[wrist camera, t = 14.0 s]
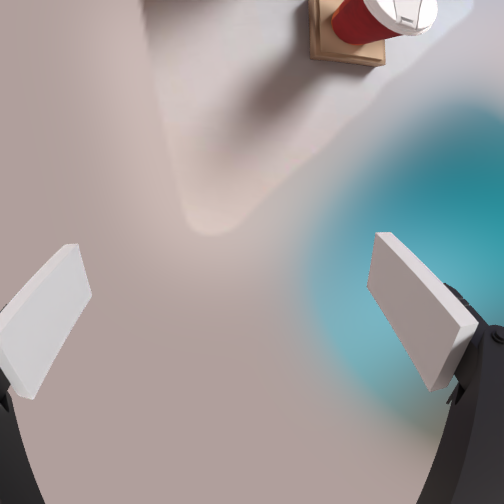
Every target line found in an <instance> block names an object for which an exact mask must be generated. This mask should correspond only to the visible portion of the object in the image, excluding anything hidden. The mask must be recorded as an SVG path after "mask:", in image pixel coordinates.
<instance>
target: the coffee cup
mask: <svg viewBox="0 0 504 504" xmlns="http://www.w3.org/2000/svg"><path fill="white" fill-rule="evenodd" d="M436 16H437V2H436V0H344V1H343V2H342V3H341V4H340V6H339V7H338V8H337V9H336V11H335V12H334V14H333V16H332V19H331V25H332V28H333V31H334V32H335V34H336V35H337V36H338V37H339V38H340V39H341V40H342V41H344V42H346V43H348V44H351V45H363V44H368V43H372V42H376V41H380V40H384V39H388V38H392V37H396V36H401V35H408V36H416V35H420V34H423V33H425V32H426V31H427V30H429V29H430V27H431V26H432V24H433V22H434V21H435V19H436Z"/></svg>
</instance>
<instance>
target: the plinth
mask: <svg viewBox="0 0 504 504" xmlns="http://www.w3.org/2000/svg"><path fill="white" fill-rule="evenodd" d="M343 1H344V0H308V10H309V34H310V59H313V60H325V61H335V62H344V63H352V64H359V65H366V66H372V67H378V66H383V65H385V39H384V40H380V41H376V42H372V43H368V44H363V45H351V44H348V43H346V42H344V41H342V40H341V39H340V38H339V37H338V36H337V35H336V34H335V32H334V31H333V28H332V25H331V19H332V16H333V14H334V12H335V11H336V9H337V8H338V7H339V6H340V4H341V3H342V2H343Z"/></svg>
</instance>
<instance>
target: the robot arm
mask: <svg viewBox="0 0 504 504" xmlns="http://www.w3.org/2000/svg"><path fill="white" fill-rule="evenodd" d="M367 288H368V290H369V291H370V293H371V294H372V296H373V297H374V299H375V300H376V302H377V304H378V305H379V307H380V308H381V310H382V312H383V313H384V315H385V316H386V318H387V320H388V321H389V323H390V324H391V326H392V328H393V329H394V331H395V333H396V334H397V336H398V338H399V339H400V341H401V342H402V344H403V346H404V348H405V349H406V351H407V353H408V355H409V356H410V358H411V360H412V362H413V363H414V365H415V367H416V369H417V370H418V372H419V374H420V376H421V378H422V379H423V381H424V383H425V385H426V387H427V388H428V390H429V392H432V391H435V390H438V389H442V388H445V387H447V386H448V384H449V382H450V381H451V379H452V377H453V375H455V376H456V378H457V380H458V381H459V382H458V384H457V386H456V387H455V389H454V390H453V392H452V394H451V396H450V397H449V399H448V401H447V402H446V404H449V403H450V401H451V400H452V402H451V406H450V410H449V414H448V418H447V421H446V425H445V428H444V431H443V435H442V438H441V441H440V444H439V447H438V450H437V453H436V456H435V459H434V461H433V464H432V467H431V470H430V472H429V475H428V477H427V480H426V482H425V485H424V487H423V489H422V492H421V494H420V497H419V499H418V501H417V503H416V504H504V327H502V326H498V325H490V326H489V325H488V324H487V323H486V322H485V321H484V320H483V318H482V317H481V316H480V315H479V314H478V313H477V312H476V311H475V310H474V308H472V306H469V303H468V302H467V301H466V300H465V299H463V297H462V296H461V295H460V294H459V293H458V291H457V290H456V289H454V288H452V287H451V286H449V285H447V284H446V283H442V282H441V281H440V280H439V279H438V278H437V277H436V276H435V275H434V274H433V273H432V272H431V271H430V270H429V269H428V268H427V267H426V266H425V265H424V264H423V263H422V262H421V261H420V260H419V259H418V258H417V257H416V256H415V255H414V254H413V253H412V252H411V251H410V250H409V249H408V248H407V247H406V246H405V245H404V244H403V243H402V242H401V241H400V240H398V239H397V238H396V237H395V236H394V235H393V234H392V233H391V232H381V233H380V232H379V233H378V232H377V233H376V234H375V241H374V247H373V253H372V259H371V265H370V272H369V277H368V282H367ZM91 297H92V293H91V290H90V287H89V283H88V280H87V276H86V273H85V269H84V265H83V262H82V258H81V254H80V250H79V245H78V244H65V245H64V246H63V247H62V248H60V249H59V250H58V251H57V252H56V253H55V254H54V255H53V256H52V257H51V258H50V259H49V260H48V262H46V263H45V264H44V265H43V266H42V267H41V268H40V269H39V271H38V272H37V273H36V274H35V275H34V276H33V277H32V278H31V279H30V280H29V281H28V282H27V283H26V284H25V285H24V286H23V288H22V289H21V290H20V291H19V292H18V293H17V294H16V295H15V297H14V298H13V299H12V300H11V301H10V302H9V303H8V304H6V306H5V307H4V308H3V309H2V310H1V311H0V504H45V502H44V500H43V498H42V495H41V493H40V490H39V488H38V485H37V483H36V481H35V478H34V475H33V472H32V469H31V467H30V464H29V461H28V458H27V455H26V452H25V448H24V445H23V442H22V439H21V435H20V431H19V428H18V424H17V420H16V416H15V412H14V407H13V403H12V398H11V396H10V394H9V393H8V391H7V390H8V388H9V386H10V385H11V386H12V387H13V389H14V390H15V392H16V393H17V395H18V396H21V397H24V398H28V399H32V400H33V399H34V397H35V395H36V394H37V392H38V390H39V388H40V385H41V384H42V382H43V380H44V378H45V376H46V374H47V372H48V370H49V368H50V367H51V364H52V363H53V361H54V359H55V357H56V356H57V354H58V352H59V350H60V348H61V347H62V345H63V343H64V341H65V340H66V338H67V336H68V335H69V332H70V331H71V329H72V328H73V326H74V324H75V323H76V321H77V319H78V318H79V316H80V315H81V313H82V311H83V310H84V308H85V306H86V305H87V303H88V301H89V300H90V298H91Z"/></svg>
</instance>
